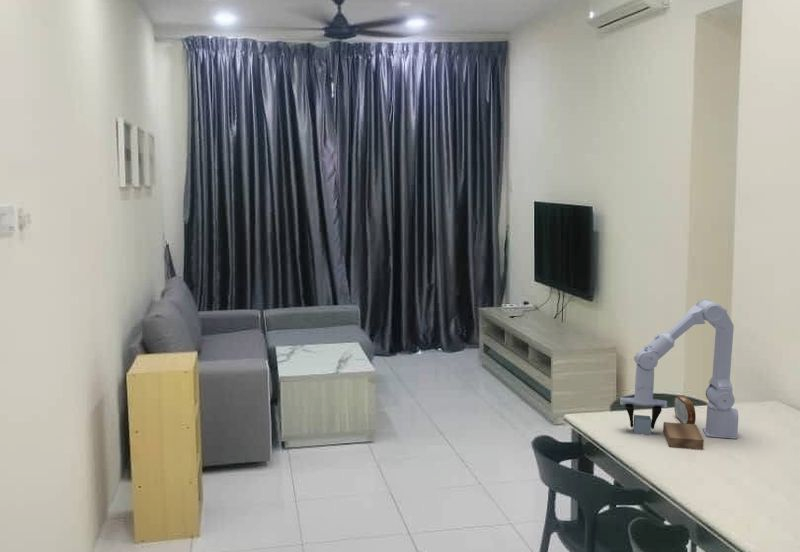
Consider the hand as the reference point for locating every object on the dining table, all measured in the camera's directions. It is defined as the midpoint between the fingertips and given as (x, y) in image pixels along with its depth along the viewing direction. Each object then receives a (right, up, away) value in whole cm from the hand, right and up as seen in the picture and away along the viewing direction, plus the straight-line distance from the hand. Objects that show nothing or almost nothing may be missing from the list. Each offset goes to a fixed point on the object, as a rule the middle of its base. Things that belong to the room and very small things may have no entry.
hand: (642, 427), depth 264 cm
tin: (+18, -1, +12) cm, 21 cm away
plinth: (+11, -3, -7) cm, 13 cm away
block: (0, -2, 0) cm, 2 cm away
